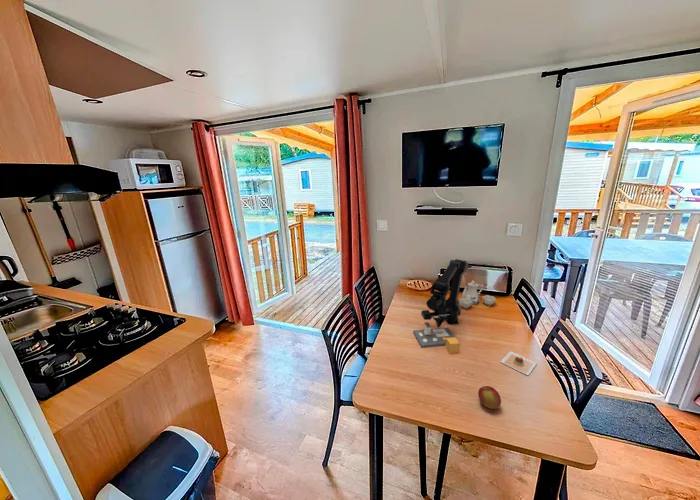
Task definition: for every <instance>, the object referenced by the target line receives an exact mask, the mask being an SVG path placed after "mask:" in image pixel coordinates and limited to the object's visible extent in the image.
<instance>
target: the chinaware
mask: <svg viewBox="0 0 700 500" xmlns="http://www.w3.org/2000/svg"><path fill="white" fill-rule="evenodd" d="M467 285H468V286H467ZM467 285H463V286H464V289H463V291H462V295H461V297H460V298H458V301H459V307H462V308H463V309H465V310H466V309H469V307H471V306H472V305H473V306H474V305H478V303H479V302H480V301H481V299H480V295H481V292H482V291H483V285H482V284H481V283H479V284H478V283H476V281H475V280H472V281H471V282H468V283H467ZM479 286H480V287H481V288H480V290H479V291H478V287H479ZM481 298H482V299H483V300H482V301H483V302H484V304H485V305H486V306H489V307H490V306H491V305H493V304H494V303H495V302H496V301H497V299H496V297H495V296H493V295H489V294H486V295H482V296H481Z"/></svg>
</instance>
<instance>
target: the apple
mask: <svg viewBox="0 0 700 500" xmlns="http://www.w3.org/2000/svg"><path fill="white" fill-rule="evenodd" d="M477 394H478V395H477V396H478V399H479V401H480V403H481V404H482V405H483V406H484V407H486V408H488V409H494V410H495V409H498V408H500V406H501V404H502V399H501V396H500V393H499V392H498V391H497V390H496V388H494V387H492V386H490V385H486V386H481V387H480V388H479V389H478V393H477Z"/></svg>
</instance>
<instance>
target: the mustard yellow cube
mask: <svg viewBox="0 0 700 500" xmlns="http://www.w3.org/2000/svg"><path fill="white" fill-rule="evenodd" d="M455 337H456V336H455ZM455 337H453V338H446V346H444V347H445V350H446V351H447V352H448V354H450V355H452V354H460V347H461V343H459V342H460V340H457V339H458V338H457V337H456V338H457V339H456V338H455Z"/></svg>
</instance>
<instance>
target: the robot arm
mask: <svg viewBox="0 0 700 500" xmlns="http://www.w3.org/2000/svg"><path fill="white" fill-rule="evenodd" d="M468 268H469V263H468V262H467V261H466V260H463V259H458V258H456V259H451V260H450V261H449V265H447V268H446V269H445V270H444V272H443V274H442V276H439V277H437V278H436V280H435V281H433V284H432V286H431V289H430V292H429V294H431V295H432V296H430V298H429V299H428V300H427V301H426V303H425V304H426V306H427V308H428V309H425V310H423V309H422V311H421V314H420V315H421V317H422V318H423V320H425V321H426V320H428V321H429V320H431V319H433V320H434V321H435V324H436V327H437V328H441V325H443V323H444V322H447V324H448V325H457V324H459V321H458V320H459V316H461V313H462V309H461V308H460V302H459V293H460V288H461V282H462V280H463V275H464V274H466V272H467V270H468ZM450 281H452V282H451V288H450ZM449 290H450V291H449ZM449 292H450V293H449ZM448 293H449V297H448V298H447V295H448ZM429 310H431V311H429Z"/></svg>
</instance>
